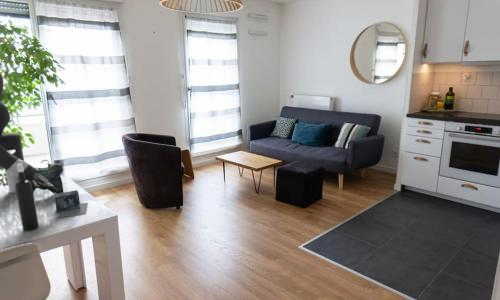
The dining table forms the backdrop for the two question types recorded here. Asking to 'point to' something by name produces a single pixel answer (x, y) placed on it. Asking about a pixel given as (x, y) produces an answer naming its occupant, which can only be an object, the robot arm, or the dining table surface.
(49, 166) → the ceramic cat
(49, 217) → the dining table surface
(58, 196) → the box
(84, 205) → the mat
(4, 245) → the dining table surface
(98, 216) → the dining table surface
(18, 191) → the wine bottle
